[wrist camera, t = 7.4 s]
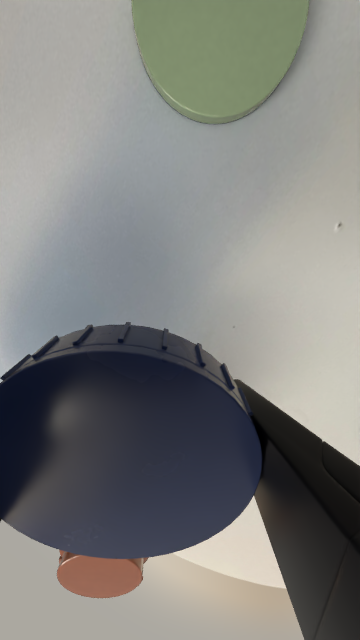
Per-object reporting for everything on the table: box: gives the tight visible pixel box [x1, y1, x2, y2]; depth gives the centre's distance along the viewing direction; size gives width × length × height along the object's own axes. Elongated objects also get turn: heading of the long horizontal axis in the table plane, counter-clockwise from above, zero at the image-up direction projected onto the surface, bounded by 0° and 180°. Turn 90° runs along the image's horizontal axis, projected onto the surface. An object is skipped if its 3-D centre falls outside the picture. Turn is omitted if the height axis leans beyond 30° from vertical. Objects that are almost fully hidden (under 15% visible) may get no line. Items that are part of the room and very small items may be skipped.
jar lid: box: [0, 322, 262, 559], centre depth 6 cm, size 7×7×1 cm
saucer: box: [131, 0, 310, 124], centre depth 13 cm, size 10×10×1 cm
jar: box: [57, 550, 149, 598], centre depth 19 cm, size 6×6×11 cm
